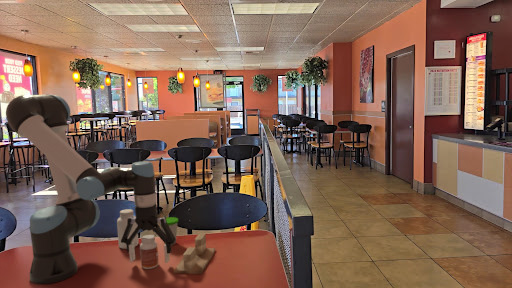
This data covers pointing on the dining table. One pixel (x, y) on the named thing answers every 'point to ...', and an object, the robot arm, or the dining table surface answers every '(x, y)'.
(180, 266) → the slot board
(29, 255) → the dining table surface
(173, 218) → the cup
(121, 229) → the pill bottle
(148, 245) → the pill bottle
